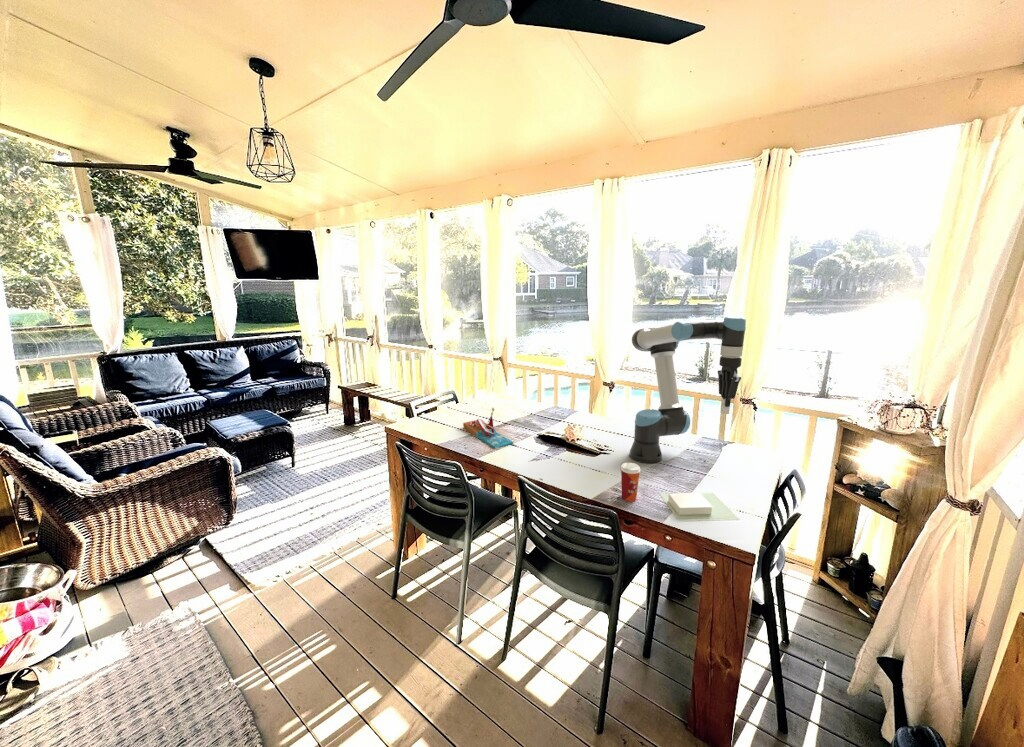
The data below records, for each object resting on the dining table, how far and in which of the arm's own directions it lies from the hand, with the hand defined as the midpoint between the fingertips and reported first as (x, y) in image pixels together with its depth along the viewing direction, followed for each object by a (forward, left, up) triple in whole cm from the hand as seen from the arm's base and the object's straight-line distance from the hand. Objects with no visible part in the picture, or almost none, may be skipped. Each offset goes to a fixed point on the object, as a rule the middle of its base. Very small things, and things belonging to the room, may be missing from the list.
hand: (724, 413), depth 162 cm
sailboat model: (-62, -100, -33) cm, 123 cm away
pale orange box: (+17, -14, -30) cm, 37 cm away
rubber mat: (+16, -16, -32) cm, 40 cm away
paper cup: (+8, -40, -33) cm, 52 cm away
